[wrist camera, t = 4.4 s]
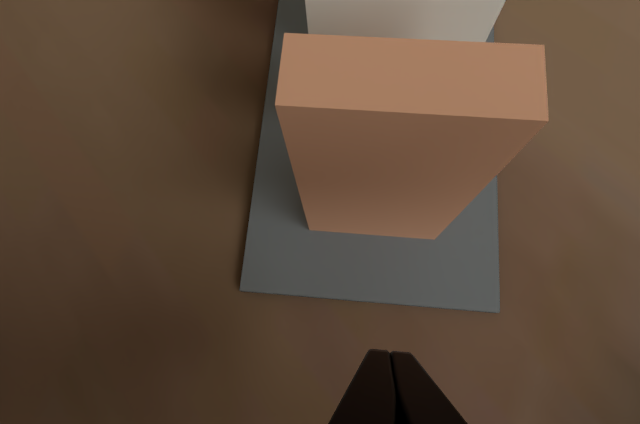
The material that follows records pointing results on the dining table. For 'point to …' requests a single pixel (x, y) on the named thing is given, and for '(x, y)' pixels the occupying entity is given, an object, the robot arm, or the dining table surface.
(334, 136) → the domino
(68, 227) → the dining table surface
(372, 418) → the robot arm
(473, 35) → the domino
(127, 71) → the dining table surface
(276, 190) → the mat
